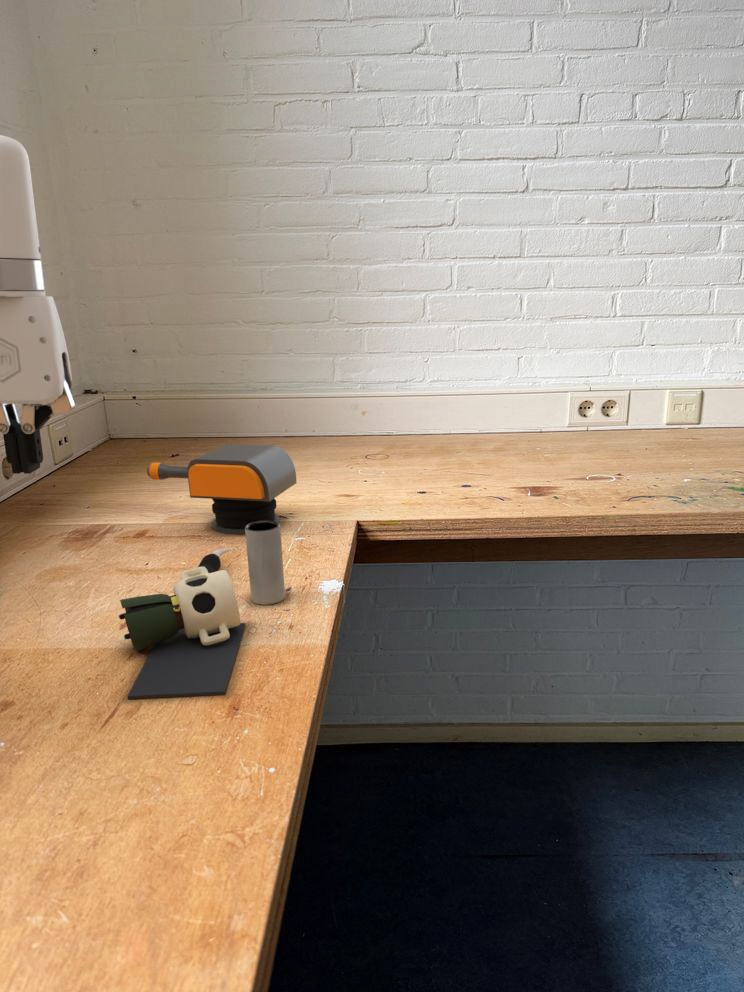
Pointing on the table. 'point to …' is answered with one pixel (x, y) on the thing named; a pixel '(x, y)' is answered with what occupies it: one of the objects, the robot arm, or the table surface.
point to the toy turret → (236, 482)
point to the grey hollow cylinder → (265, 562)
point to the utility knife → (213, 560)
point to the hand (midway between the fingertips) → (26, 470)
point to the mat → (188, 667)
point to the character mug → (184, 610)
